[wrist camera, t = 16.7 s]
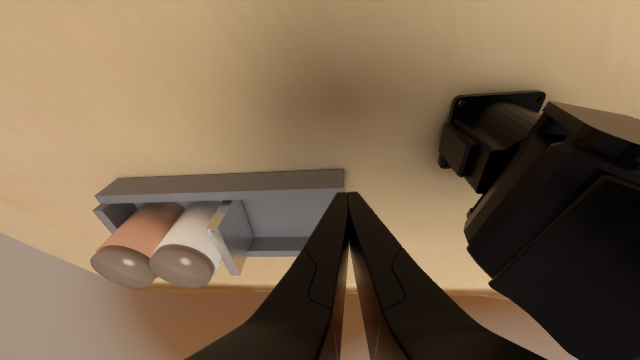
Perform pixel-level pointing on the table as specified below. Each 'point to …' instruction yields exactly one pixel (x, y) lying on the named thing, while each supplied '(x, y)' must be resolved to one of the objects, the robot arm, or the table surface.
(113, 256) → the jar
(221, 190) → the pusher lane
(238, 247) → the plate
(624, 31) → the table surface
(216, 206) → the cream jar
